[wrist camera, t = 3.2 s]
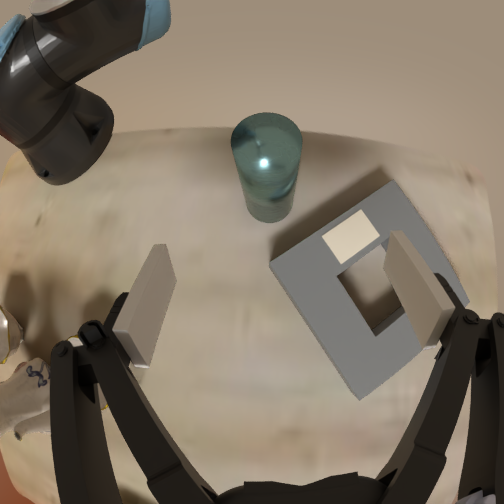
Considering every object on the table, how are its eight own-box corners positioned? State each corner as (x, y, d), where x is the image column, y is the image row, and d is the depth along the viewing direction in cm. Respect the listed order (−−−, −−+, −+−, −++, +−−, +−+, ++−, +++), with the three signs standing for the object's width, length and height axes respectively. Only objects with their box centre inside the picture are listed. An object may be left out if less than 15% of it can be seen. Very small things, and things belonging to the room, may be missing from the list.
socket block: (269, 267, 29) (268, 262, 26) (384, 190, 30) (393, 178, 27) (351, 392, 26) (359, 400, 23) (455, 302, 27) (470, 301, 24)
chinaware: (146, 331, 31) (48, 316, 15) (146, 460, 26) (68, 519, 10) (6, 306, 33) (-70, 282, 17) (6, 402, 28) (-68, 404, 12)
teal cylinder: (237, 195, 31) (218, 133, 19) (275, 172, 31) (275, 103, 20) (262, 231, 30) (256, 183, 18) (301, 206, 30) (316, 148, 19)
